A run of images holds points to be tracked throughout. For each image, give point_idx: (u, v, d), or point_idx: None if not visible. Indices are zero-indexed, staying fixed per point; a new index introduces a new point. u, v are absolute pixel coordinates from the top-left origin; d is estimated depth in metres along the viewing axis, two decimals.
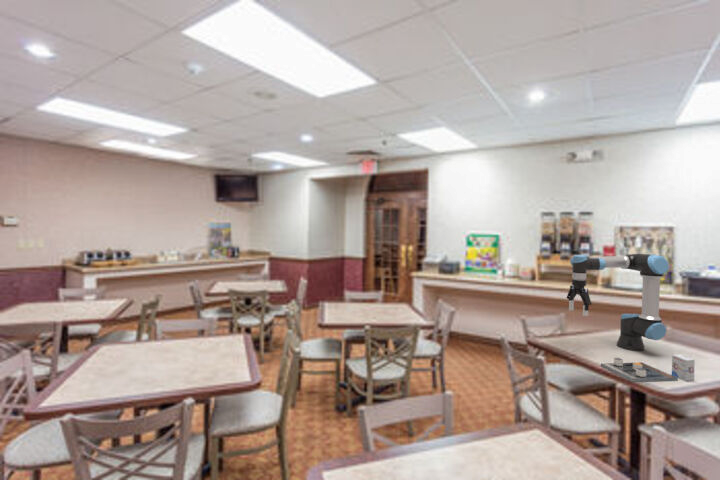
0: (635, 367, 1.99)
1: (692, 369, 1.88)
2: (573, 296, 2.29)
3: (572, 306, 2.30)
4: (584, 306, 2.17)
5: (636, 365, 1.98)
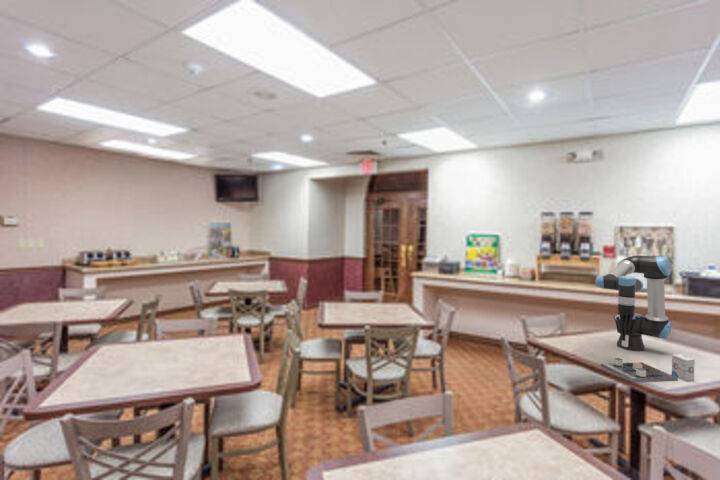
0: (635, 367, 1.99)
1: (692, 369, 1.88)
2: (626, 327, 1.98)
3: None
4: None
5: (636, 365, 1.98)
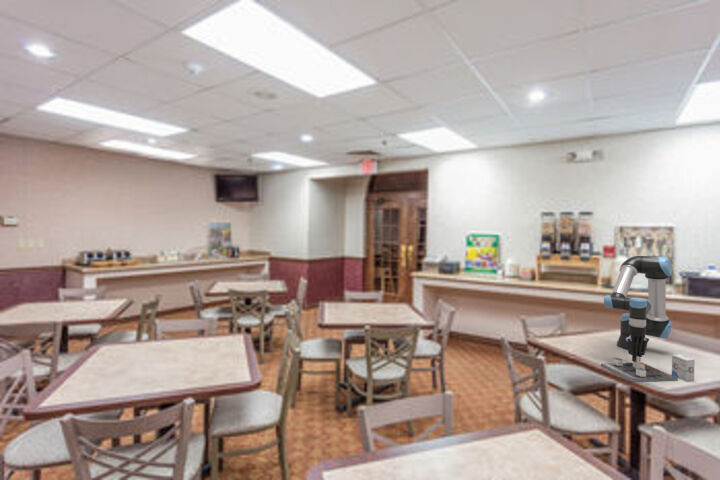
0: None
1: (692, 369, 1.88)
2: (637, 348, 1.99)
3: None
4: None
5: None
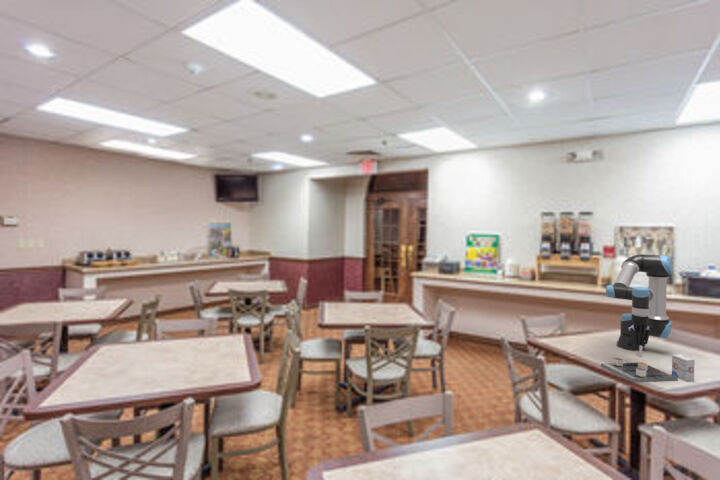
0: (640, 367, 1.99)
1: (692, 369, 1.88)
2: (640, 337, 1.99)
3: None
4: None
5: (641, 365, 1.98)
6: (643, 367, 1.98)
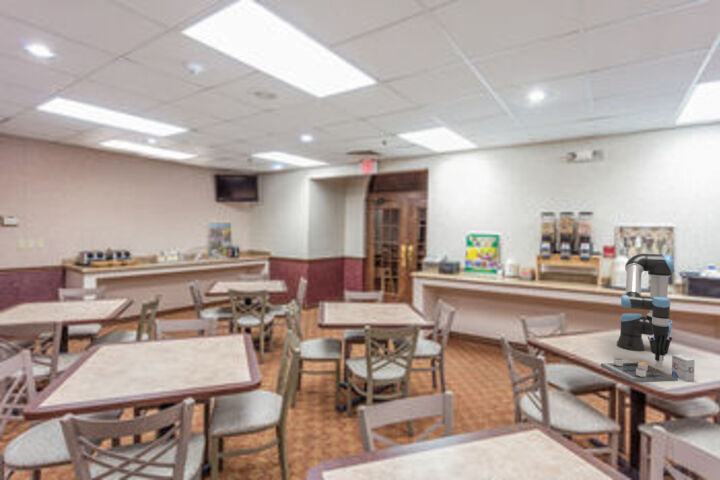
0: (640, 367, 1.99)
1: (692, 369, 1.88)
2: (660, 347, 2.00)
3: None
4: None
5: (641, 365, 1.98)
6: (643, 367, 1.98)
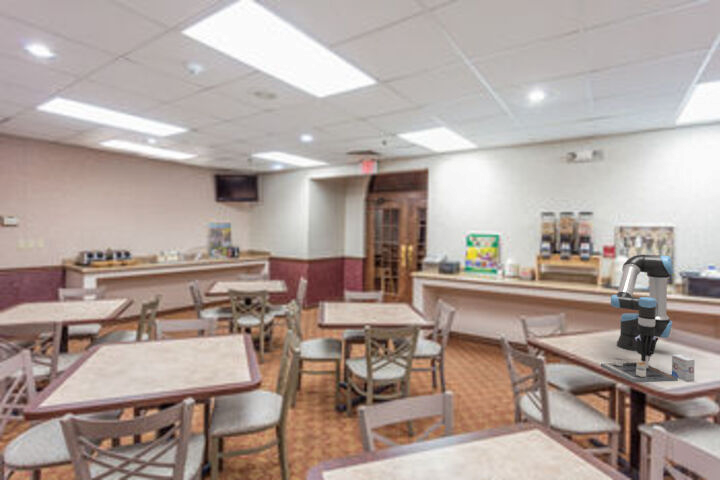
0: (638, 367, 1.99)
1: (692, 369, 1.88)
2: None
3: None
4: None
5: (640, 365, 1.98)
6: (642, 367, 1.98)
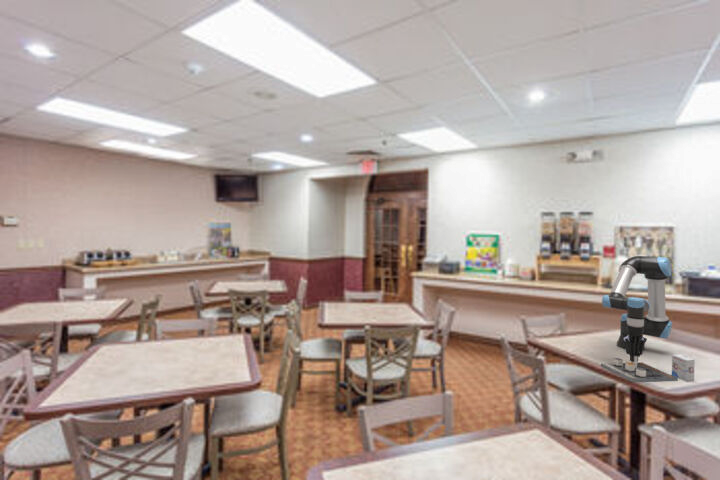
0: (627, 367, 1.99)
1: (692, 369, 1.88)
2: (635, 348, 1.98)
3: None
4: None
5: (628, 365, 1.98)
6: (630, 367, 1.97)
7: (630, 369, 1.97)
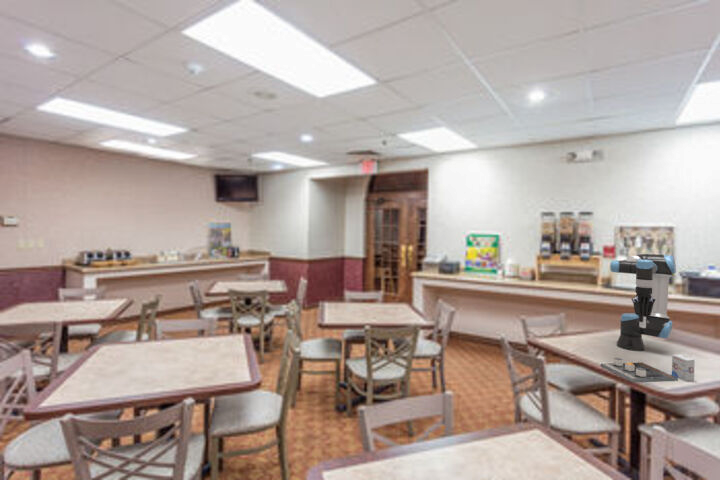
0: (627, 367, 1.99)
1: (692, 369, 1.88)
2: (644, 309, 2.04)
3: None
4: None
5: (628, 365, 1.98)
6: (630, 367, 1.97)
7: (630, 369, 1.97)
